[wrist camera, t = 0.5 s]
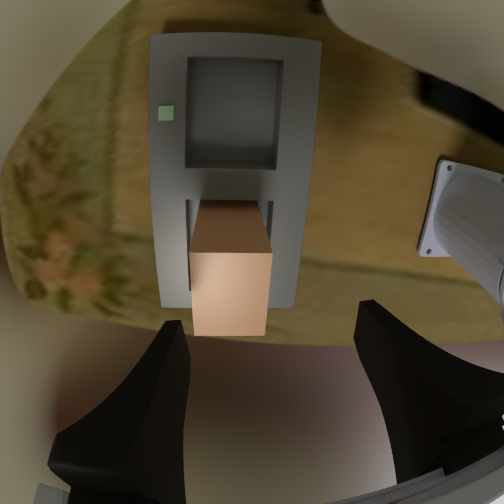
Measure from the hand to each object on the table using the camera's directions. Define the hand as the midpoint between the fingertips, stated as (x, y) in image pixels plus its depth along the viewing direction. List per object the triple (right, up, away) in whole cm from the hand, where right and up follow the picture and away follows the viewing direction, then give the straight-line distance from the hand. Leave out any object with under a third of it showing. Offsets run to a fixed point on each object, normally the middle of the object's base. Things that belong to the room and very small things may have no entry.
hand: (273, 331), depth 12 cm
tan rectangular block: (-2, +4, +9) cm, 10 cm away
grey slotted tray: (-2, +8, +7) cm, 11 cm away
